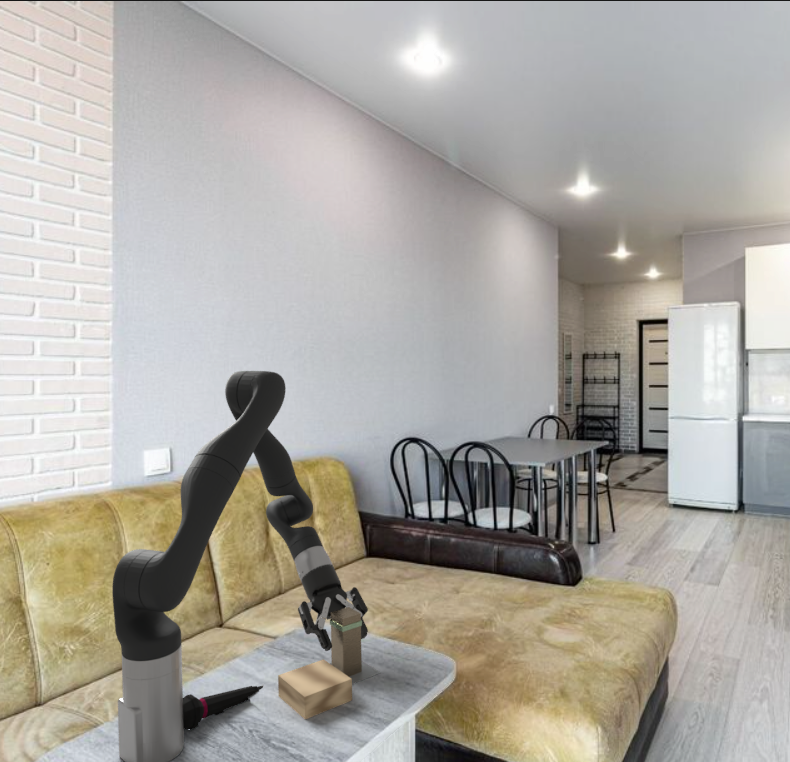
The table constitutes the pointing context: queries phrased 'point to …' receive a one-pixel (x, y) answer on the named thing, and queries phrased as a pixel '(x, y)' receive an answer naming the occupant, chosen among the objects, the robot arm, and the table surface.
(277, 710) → the table surface
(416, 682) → the table surface
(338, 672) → the rest block
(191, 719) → the microphone
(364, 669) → the coaster
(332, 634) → the column
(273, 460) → the robot arm
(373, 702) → the table surface
